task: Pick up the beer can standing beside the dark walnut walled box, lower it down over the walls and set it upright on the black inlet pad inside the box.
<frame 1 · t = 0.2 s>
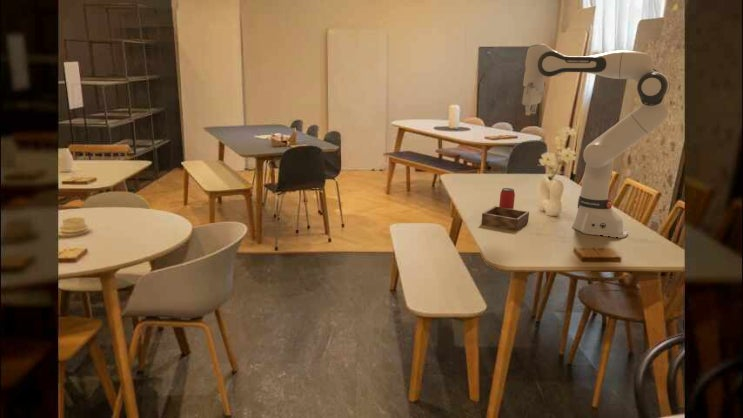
hand: (530, 114, 253), 47 cm above the table, fingers open, 8 cm apart
walnut box: (504, 223, 253), on the table
beer can: (505, 214, 269), on the table
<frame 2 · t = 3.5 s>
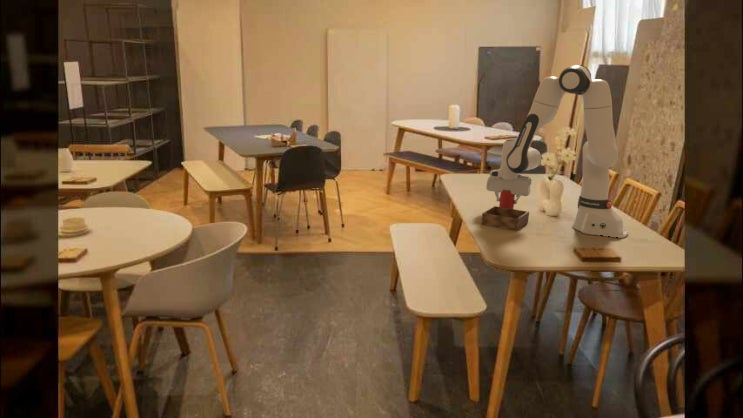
hand: (506, 202, 267), 6 cm above the table, fingers closed on beer can, 7 cm apart
beer can: (505, 214, 269), on the table, touching gripper
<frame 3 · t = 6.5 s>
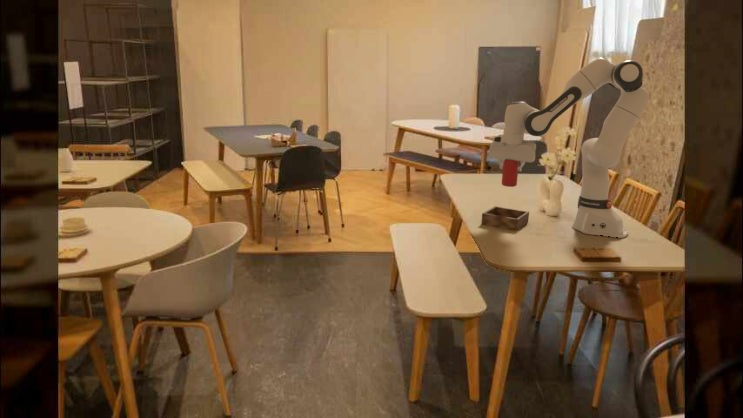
hand: (510, 170, 253), 23 cm above the table, fingers closed on beer can, 7 cm apart
beer can: (509, 185, 255), point 16 cm above the table, touching gripper
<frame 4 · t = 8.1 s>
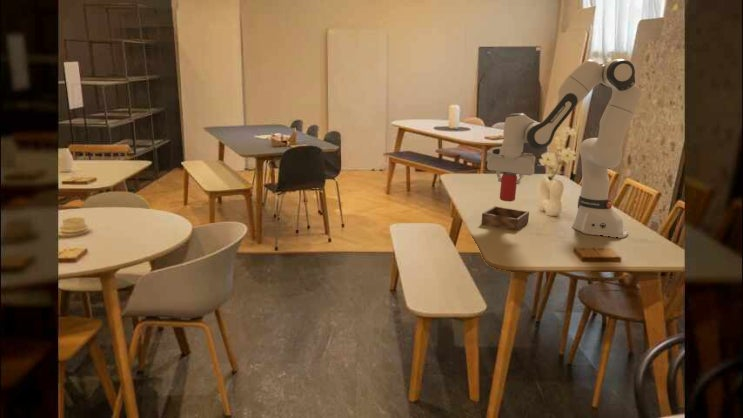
hand: (508, 182, 248), 18 cm above the table, fingers closed on beer can, 7 cm apart
beer can: (507, 200, 250), point 11 cm above the table, touching gripper
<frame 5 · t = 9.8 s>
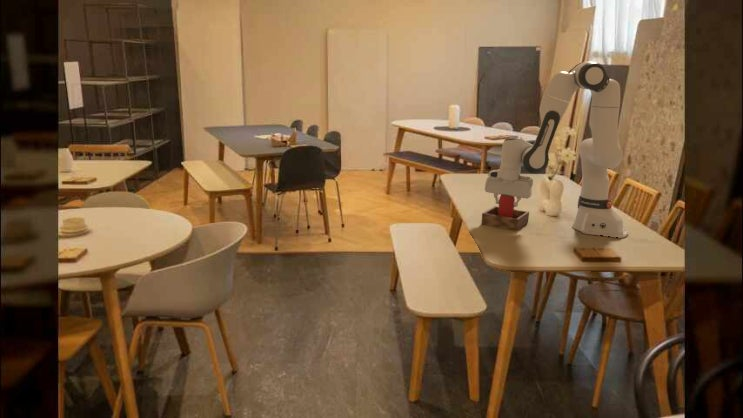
hand: (506, 205, 251), 8 cm above the table, fingers closed on beer can, 7 cm apart
beer can: (504, 221, 253), point 1 cm above the table, touching gripper, walnut box
when the fingers open (8 cm above the table, at t = 10.8 s): beer can stays where it is, resting on walnut box.
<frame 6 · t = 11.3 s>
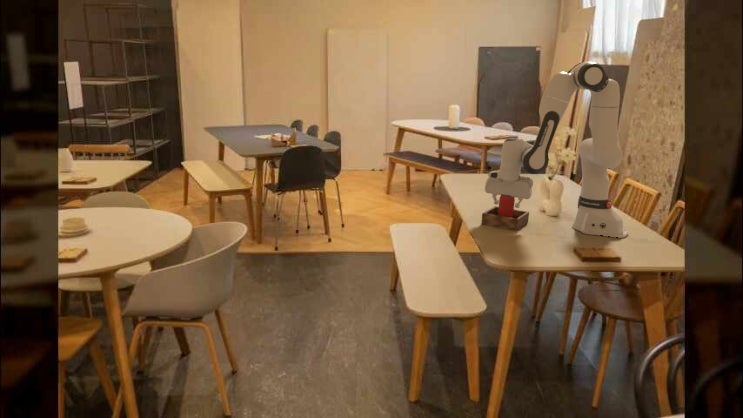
hand: (506, 205, 251), 8 cm above the table, fingers open, 8 cm apart
beer can: (504, 221, 253), point 1 cm above the table, touching walnut box
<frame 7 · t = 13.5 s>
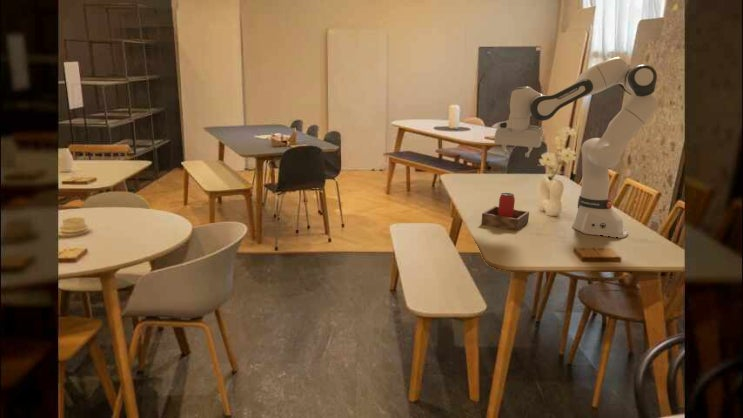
hand: (516, 155, 252), 29 cm above the table, fingers open, 8 cm apart
nothing on the table moved.
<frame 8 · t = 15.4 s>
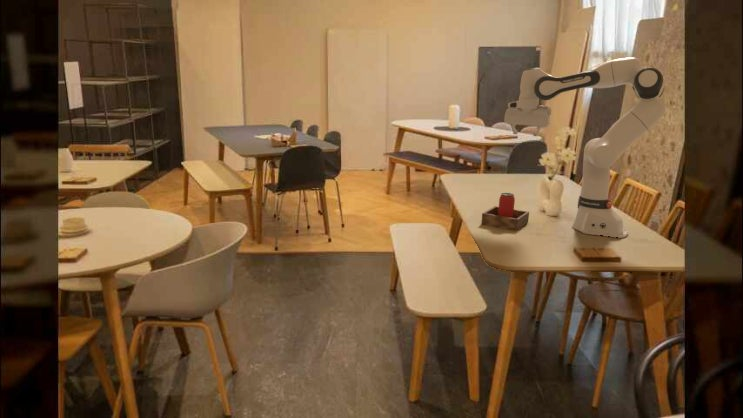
hand: (525, 135, 262), 37 cm above the table, fingers open, 8 cm apart
nothing on the table moved.
at the end: beer can inside the target area on the walnut box (0.1 cm from its centre), point 1.1 cm above the walnut box's base; beer can tilted 0°; the gripper is holding nothing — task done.
